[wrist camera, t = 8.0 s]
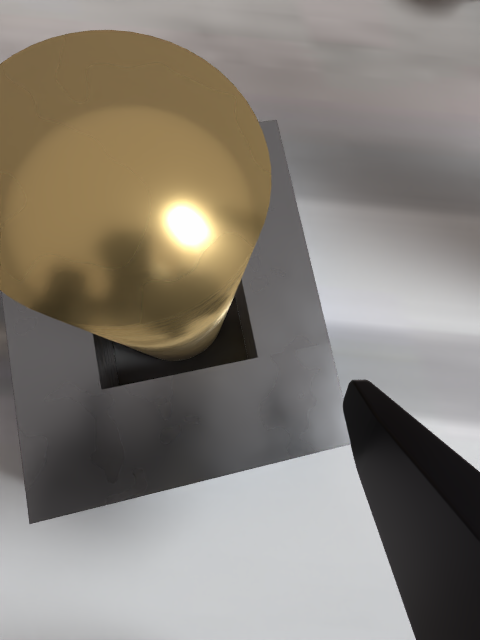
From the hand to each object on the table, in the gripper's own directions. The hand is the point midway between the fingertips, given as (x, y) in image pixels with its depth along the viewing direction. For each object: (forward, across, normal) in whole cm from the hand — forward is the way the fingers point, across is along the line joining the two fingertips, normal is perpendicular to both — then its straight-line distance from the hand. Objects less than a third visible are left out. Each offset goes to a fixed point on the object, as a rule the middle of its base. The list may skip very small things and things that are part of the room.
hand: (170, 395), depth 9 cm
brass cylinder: (+8, 0, +3) cm, 9 cm away
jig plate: (+8, +1, +3) cm, 9 cm away
